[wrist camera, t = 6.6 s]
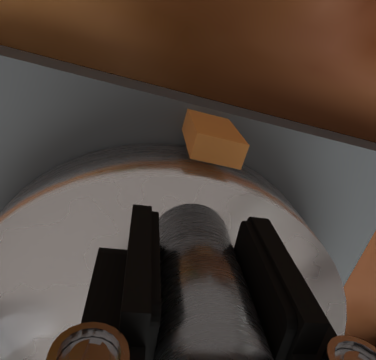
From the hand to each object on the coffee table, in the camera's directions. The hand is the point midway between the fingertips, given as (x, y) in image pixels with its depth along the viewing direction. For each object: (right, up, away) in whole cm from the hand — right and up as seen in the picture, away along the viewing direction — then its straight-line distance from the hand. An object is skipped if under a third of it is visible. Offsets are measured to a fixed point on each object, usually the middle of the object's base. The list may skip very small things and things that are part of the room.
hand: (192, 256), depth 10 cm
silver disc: (-2, -3, +6) cm, 7 cm away
